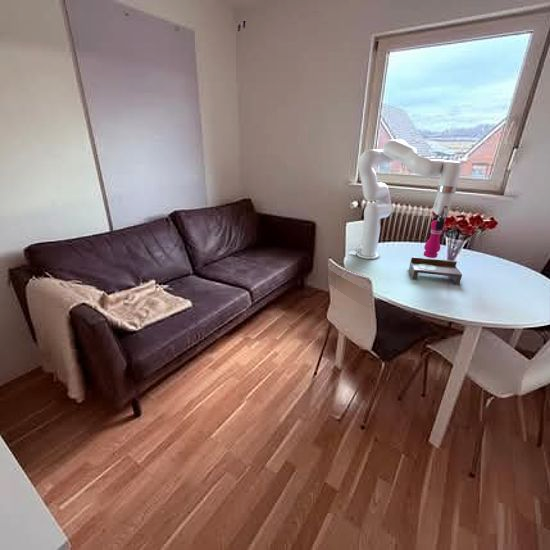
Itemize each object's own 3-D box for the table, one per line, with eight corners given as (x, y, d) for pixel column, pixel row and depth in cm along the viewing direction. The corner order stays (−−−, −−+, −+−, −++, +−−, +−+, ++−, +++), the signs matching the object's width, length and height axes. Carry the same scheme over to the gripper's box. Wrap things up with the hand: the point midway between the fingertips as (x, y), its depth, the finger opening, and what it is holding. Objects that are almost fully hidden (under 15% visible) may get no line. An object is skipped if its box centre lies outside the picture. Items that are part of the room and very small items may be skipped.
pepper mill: (421, 256, 156) (430, 217, 147) (423, 252, 161) (433, 214, 153) (436, 259, 152) (447, 219, 144) (439, 255, 158) (449, 216, 149)
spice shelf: (412, 279, 158) (415, 265, 155) (408, 270, 169) (411, 256, 165) (459, 284, 154) (463, 270, 150) (452, 275, 164) (456, 261, 161)
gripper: (433, 186, 151) (425, 222, 159) (442, 192, 136) (432, 231, 143) (450, 187, 150) (441, 223, 157) (461, 193, 134) (450, 233, 142)
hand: (437, 227), depth 150 cm, fingers closed on pepper mill, 6 cm apart
